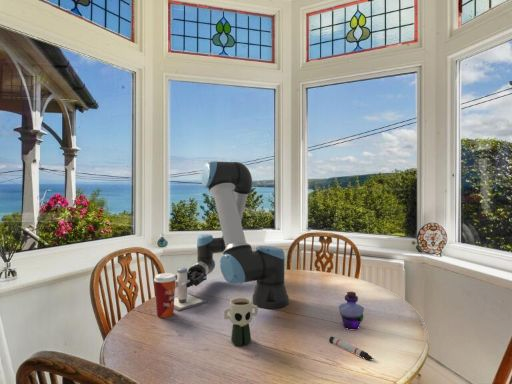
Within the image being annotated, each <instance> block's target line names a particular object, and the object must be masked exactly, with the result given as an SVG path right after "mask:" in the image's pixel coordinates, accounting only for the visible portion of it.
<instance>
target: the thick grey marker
mask: <svg viewBox="0 0 512 384" xmlns="http://www.w3.org/2000/svg"><path fill="white" fill-rule="evenodd" d="M187 272H188V268H187V267H178V268H177V269H176V273H177V274H176V275H177V288H176V290H177V291H176V292H177V298H178V299H179V302H180V303H184V302H186V299H187V294H188V288H187V289H185V290H184V291H181V284H183V283H184V282H185V281H187Z"/></svg>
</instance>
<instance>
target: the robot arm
mask: <svg viewBox="0 0 512 384" xmlns="http://www.w3.org/2000/svg"><path fill="white" fill-rule="evenodd" d="M201 185H202V187H203V188H204V189H208V192H209V195H211V196H212V197H213V199H214V203H215V207H216V211H217V216H218V219H219V225H220V229H221V233H222V236H220V237H213V235H212V234H200V235H198V237H197V242H196V248H197V257H196V258H197V260H196V261H197V262H196V263H195V264H193V265H191V266H190V267H189V268H188V269H187V281H185V282H184V283H183V284H181V291H184V290H185V289H187V290H188V288H190V287H193V286H195V287H197V286H199V285H200V284H202V282H205V281H207V277H208V276H207V275H209V274H210V273H212V272H213V271H214V269H215V267H216V262H215V260H214V258H213V257H214V254H221V253H222V254H223V255H222V256H221V257H220V261H219V263H220V265H219V268H220V272H221V274H222V277H223V278H224V280H225V281H226V282H227V283H229V284H230V285H238V284H239V285H241V284H244V283H250V282H255V281H256V285H255V286H254V287H255V288H254V292H253V295H252V299H251V300H252V305H253V306H254V305H257V306H258V308H260V309H261V308H263V309H280V308H284V307H286V306H288V305H289V300H290V299H289V294H288V293H287V288H286V284H285V260H286V259H285V251H284V250H283V249H282V248H280V247H275V246H271V245H269V246H268V245H257V246H256V248H255V250H252V245H251V244H250V243H248V242H247V240H246V236H245V232H244V229H243V225H242V220H243V216H244V212H245V207H246V204H247V200H248V196H249V195H250V194H251V193H252V189H253V177H252V174H251V172H250V170H249V168H248V167H247V166H246V165H245V164H243V163H242V162H238V161H217V160H215V161H207V162H206V163H205V164H204V166H203V168H202V172H201ZM175 277H176V280H175V289H177V274H176V275H175Z"/></svg>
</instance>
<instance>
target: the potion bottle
mask: <svg viewBox="0 0 512 384" xmlns="http://www.w3.org/2000/svg"><path fill="white" fill-rule="evenodd" d="M344 300H345V301H346V302H344V303H340V305H338V311H339V315H340V317H341V320H342V327H343V326H344V327H345V328H348V329H358V327H360V324H361V322H363V319H364V316H365V315H364V311H365V307H364V306H362V305H360V304H357V302H358V301H359V296H357V293H356V292H355V291H347V292H346V294H345V296H344ZM344 327H343V328H344ZM345 328H344V329H345ZM348 329H347V330H348ZM358 330H359V329H358Z"/></svg>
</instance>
